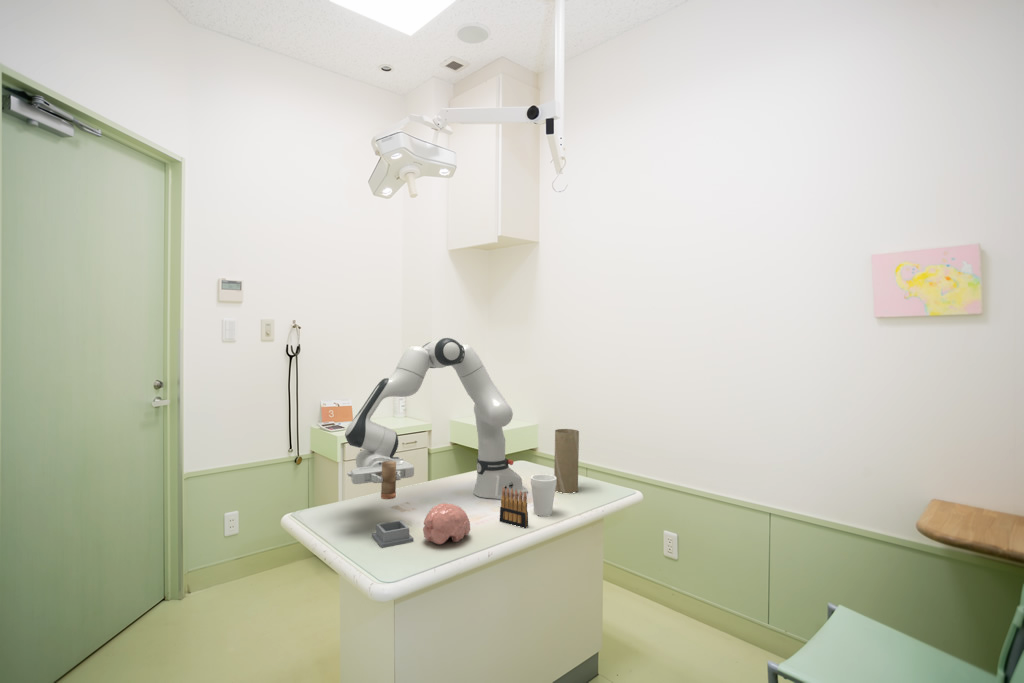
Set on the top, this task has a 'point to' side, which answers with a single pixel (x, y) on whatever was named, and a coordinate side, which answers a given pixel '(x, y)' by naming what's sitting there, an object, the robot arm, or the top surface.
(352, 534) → the top surface
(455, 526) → the brain
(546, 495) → the foam cup
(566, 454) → the tube
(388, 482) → the brown rounded peg
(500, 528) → the top surface
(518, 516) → the ammunition clip
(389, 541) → the socket block
